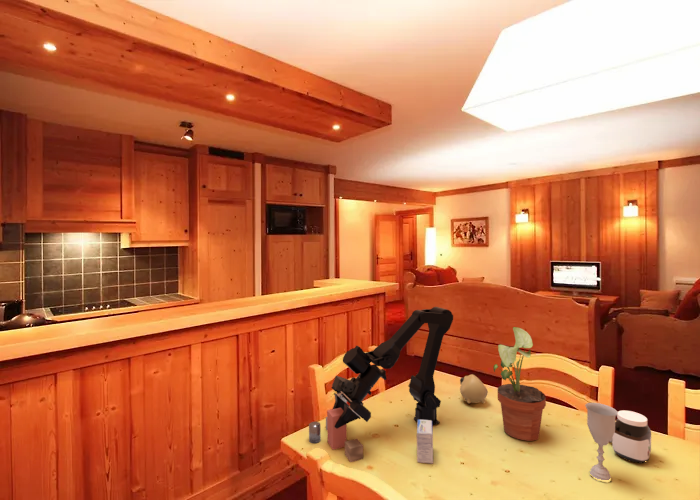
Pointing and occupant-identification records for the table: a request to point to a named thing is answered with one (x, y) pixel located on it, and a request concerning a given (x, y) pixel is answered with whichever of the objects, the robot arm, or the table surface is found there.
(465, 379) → the toy pig
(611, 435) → the chalice
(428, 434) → the medicine box
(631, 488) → the table surface
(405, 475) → the table surface
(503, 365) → the potted plant
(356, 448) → the walnut block
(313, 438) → the grey metal cylinder
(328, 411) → the dusty red block
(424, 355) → the robot arm
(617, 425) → the spread jar
